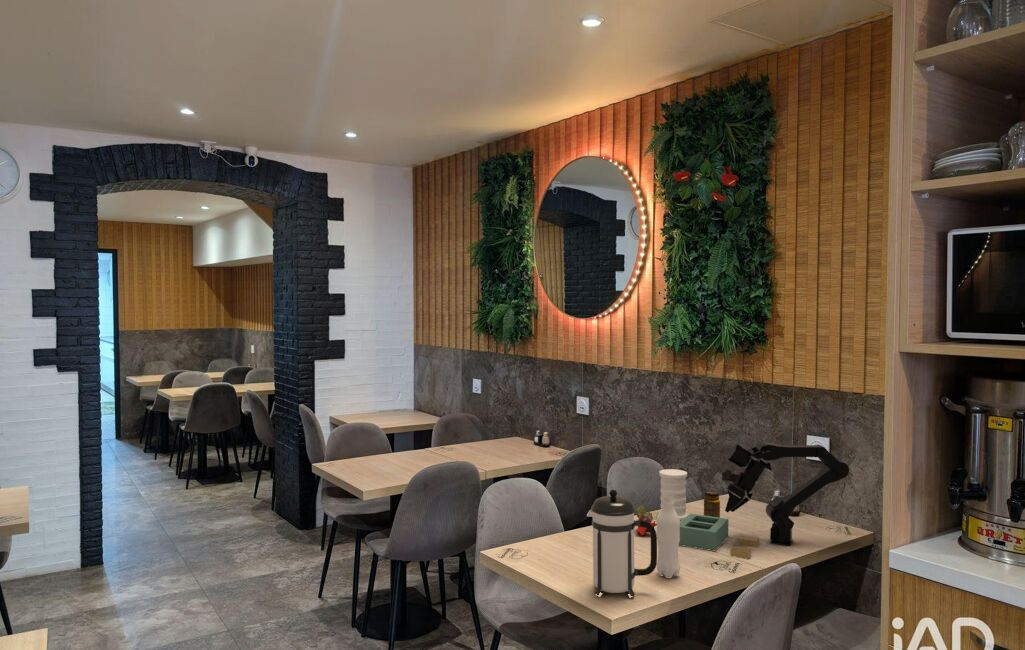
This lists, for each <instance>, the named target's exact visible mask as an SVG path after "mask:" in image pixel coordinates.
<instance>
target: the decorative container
mask: <svg viewBox="0 0 1025 650" xmlns="http://www.w3.org/2000/svg"><path fill="white" fill-rule="evenodd" d="M659 477H660V480H659V483H660V488H659V491H660V496H659V498H660V501H661V502H660V506H659V507H660V508H661V509H662V507H663V503H662V502H663V495H664V494H670V495H673V502H674V504H673V506H674V509H675V511H676V513H677V515H678V517H679V520H683V519H684V518H686V517H687V516H688V515H689V514H688V513H687V511H686V510H687V504H686V503H687V497H686V495H687V489H686V487H687V480H686V478H687V477H688V472H687V471H686V470H682V469H676V468H675V469H674V468H672V469H670V468H668V469H667V468H666V469H661V470H659ZM661 509H660V510H661ZM659 513H660V511H658V514H659Z"/></svg>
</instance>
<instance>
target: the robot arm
mask: <svg viewBox="0 0 1025 650" xmlns="http://www.w3.org/2000/svg"><path fill="white" fill-rule="evenodd" d="M783 458H818V459H819V461H820V462H821V463H823V465H822V466H821V468H820V469H819V471H818V473H816V475H814V476H813V477H811V478H810V479H808V480H807V481H806V482H804V483H803V484H802V485H800V486H799V487H798V488H796V489H795V490H793V491H792V492H791V493H789V494H788V495H786V496H785V497H780V496H779V495H776V496H775V497H774V498H773V499H772V500H769V501H768V504H767V505H766V506H765V513H766V515H767V516H768V517H769V519H771V522H772V524H771V527H770V529H769V530H770V531H769V532H770V534H769V535H770V536H769V537H770V539H769V540H770V543H771V544H774V545H775V544H776V545H782V546H787V547H788V546H789V547H790V546H791V545H792V543H793V542H794V539H793V527H794V525H795V522H794V521H793V520H792V519H791V518H790V517H791V515H792V513H793V512H794V510H795V509H796V508H797V507H798V506H800V505H801V504H802V503H804V502H805V501H807V500H808V499H809V498H811V497H813V496H814V495H815V494H816V493H817V492H819V491H820V490H821V489H823V488H825V486H827V485H830V484H833V483H835V482H840V481H841V480H843V479H844V478H847V476H849V474H850V468H849V466H848V464H847V463H845V462H844V461H842V460H840V459H838V458H836V457H835V456H834V455H833V454H832V453H830V451H828V449H827V448H826V447H825V446H823V445H820V444H815V445H814V444H813V445H812V444H811V445H810V444H809V445H808V444H807V445H806V444H805V445H804V444H803V445H801V444H800V445H798V444H797V445H795V444H793V445H792V444H787V445H785V444H779V443H775V442H768V441H761V442H759V443H758V444H756V446H754V447H751V448H748V449H746V448H745V447H742V446H741V445H740V444H738V443H735V445H734V446H732V447H731V449H729V450H728V452H727V454H726V460H727V461H728V462H730V463H732V464H734V465H735V466H737V467H739V468H743V467H744V470H743V471H741V472H740V473H739V474H737V473H734V472H733V470H732V469H726V470H723V471H722V473H721V481H727V482H731V483H729V484H728V486H727V487H726V489H727V491H726V492H727V493H728V499H727V502H726V506H725V509H724V511H725V513H729V512H732V513H733V512H736V511H737V510H738V509H740V508H741V507H743V506H744V505H745V504H747V503H748V502H750V501H751V500H752V499H753V498H754V496H755V492H754V490H753V489H754V488H755V487H756V485H757V484H758V483H759V482H760V481H759V480H760V478H761V477H762V475H763V473H764V472H765V470H766V469H767V470H769V471H773V468H772V465H771V462H770V461H776V460H779V459H780V460H781V459H783Z"/></svg>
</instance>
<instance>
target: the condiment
mask: <svg viewBox="0 0 1025 650" xmlns="http://www.w3.org/2000/svg"><path fill="white" fill-rule="evenodd" d="M703 515H705V516H712V517H719V518H721V500H720V493H719V492H718V491H716V490H707V491H705V492H704V499H703Z"/></svg>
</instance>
